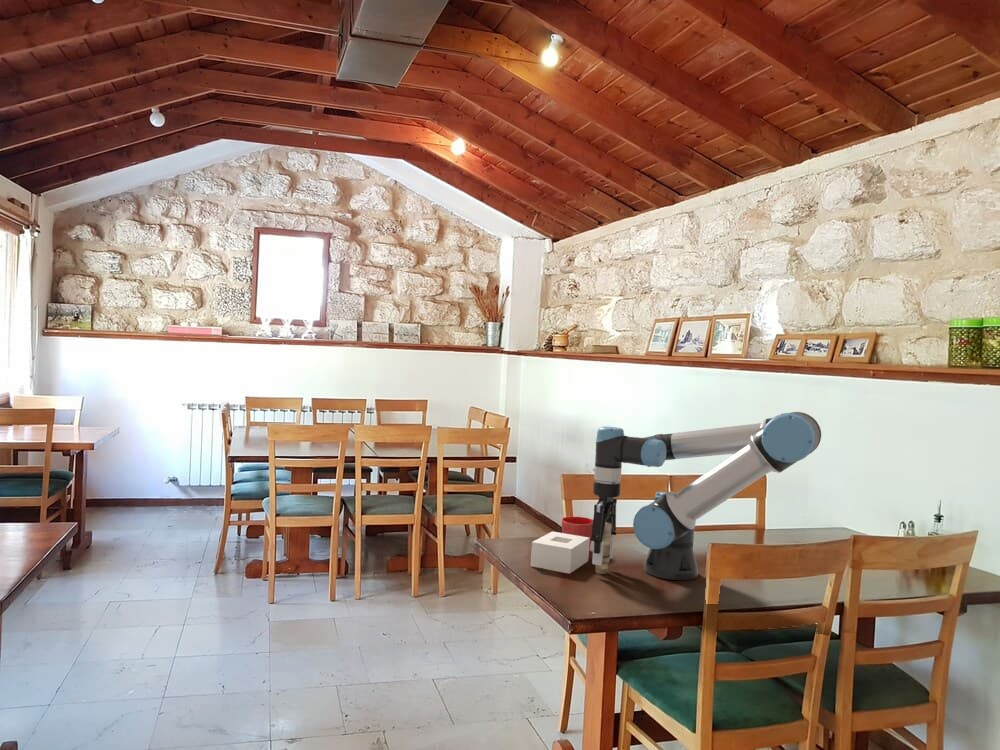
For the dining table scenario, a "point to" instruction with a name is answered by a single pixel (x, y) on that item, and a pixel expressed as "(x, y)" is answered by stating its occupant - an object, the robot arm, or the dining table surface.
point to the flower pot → (577, 526)
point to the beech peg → (605, 550)
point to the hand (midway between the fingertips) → (602, 560)
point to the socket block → (560, 552)
